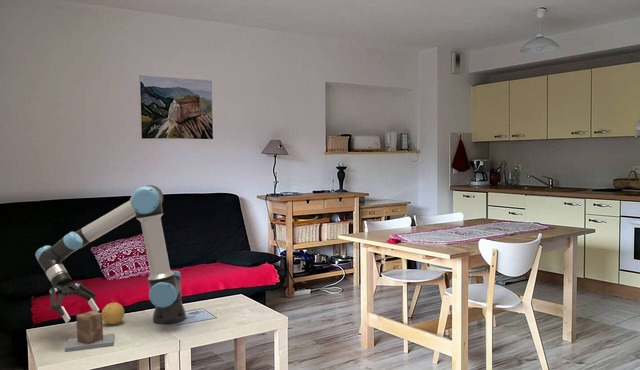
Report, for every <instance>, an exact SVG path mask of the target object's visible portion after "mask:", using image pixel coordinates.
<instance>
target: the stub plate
mask: <svg viewBox="0 0 640 370" xmlns="http://www.w3.org/2000/svg"><path fill="white" fill-rule="evenodd" d="M114 344H115V333H105V334H103V339H102V340H100V341H97V342H94V343H91V344H85V343H81V342H78V340H77V337H73V338H71V337H70V338H68V339H67V341H66V343H65V346H64V352H65V353H67V352H74V351H76V352H77V351H82V350H83V351H84V350H90V349H92V350H93V349H98V348H107V347H114Z"/></svg>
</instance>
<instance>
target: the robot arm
mask: <svg viewBox="0 0 640 370" xmlns="http://www.w3.org/2000/svg"><path fill="white" fill-rule="evenodd" d="M163 202H164V195H163V192H162V190H161V189H160V188H159V187H158V186H156V185H151V184H148V185H143V186H140V187H138V188H137V189H136V190H135V191H134V192H133V193H132V195H131V197H130V199H129V200H128V201H126V202H125V203H122V204H121V205H119V206H117V207H116V208H114V209H113V210H111V211H109V212H108V213H106V214H104V215H103V216H100V217H99V218H97V219H96V220H94V221H92V222H90V223H88V224H86V225H85V226H84V227H82V228H80V229H78V230H77V231H70V232H69V233H67V234H65V235H64V236H63V237H62V238H61V239H59V240H58V241H57V242H56V243H55V244H53V245H52V246H51V245H44V246H42V247H39V248H38V249H37V250H36V252H35V254H34V255H35V258H36V260H37V261H38V264H39V265H40V267H41V268H42V270H43V272H44V273H45V275H46V277H47V278H48V280H49V281H50V283H51V285H52V287H51V288H50V290H49V291H48V293H49V295H50V302H49V305H50V311H54V312H55V313H58V315H59V317H62V318H63V320H64V322H65V324H68V323H69V322H70V320H71V317H70V315H69V314H68V312H67V311H66V309H65V307H64V306H62V304H63V300H64V297H68V296H72V295H73V296H77V297H79V298H82V299H84V300H86V301H87V303H88V305H89V306H90V308H91V311H94V312H100V308H99V307H98V306H97V305H98V303H97V302H96V299H95V298H96V296H97V294H96V293H95V292H94V291H93V290H92V289H89V288H88V287H87V286H85V285H84V284H83V283H82V282H81V280H78V281H77V282H73V279H72V277H71V276H70V274H69V273H68V271H67V269H66V268H65V266H64V264H63V263H62V261H64V260H65V259H67V257H69V256H70V255H72V253H74V252H76V251H78V250H79V249H80V250H81V249H82V248H84V247H86V246H87V245H88V244H90V243H91V242H93V241H95V240H97V239H99V238H100V237H102V236H103V235H105V234H107V233H109V232H110V231H112V230H114V229H116V228H117V227H119V226H120V225H123V224H124V223H126V222H128V221H129V220H132V219H133V218H135V217H136V220H138V221H139V222H140V225H141V229H142V230H141V231H142V236H143V241H144V247H145V251H146V252H145V253H146V258H147V261H148V262H147V263H148V267H149V268H148V269H149V273H150V275H149V276H148V278H147V281H148V287H149V292H148V297H149V301H150V302H151V304H153V306H155V308H154V311H153V314H152V322H153V323H154V324H159V325H160V324H161V325H165V324H166V325H168V324H169V325H170V324H177V323H179V322H180V323H181V322H183V321H184V320H186V318H187V317H186V316H187V313H186V310H185V307H184V305H183V301H182V282H181V281H182V280H181V279H182V275H181V271H179V270H171V267H170V262H169V256H168V251H167V250H168V249H167V244H166V239H165V234H164V229H163V225H162V224H163V223H162V216H163V215H164V210H163V205H162V204H163ZM56 293H58V294H59V295H58V299H57V295H56ZM56 299H57V300H56Z"/></svg>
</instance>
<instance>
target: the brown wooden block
mask: <svg viewBox="0 0 640 370" xmlns="http://www.w3.org/2000/svg"><path fill="white" fill-rule="evenodd" d="M103 328H104V324H103V319H102V312H100V311H98V312H94V311H93V310H89V311H86V312H83V313H81V314H80V313H79V314H77V315H76V335H77V337H76V338H77V340H78V342H81V343H85V344H91V343H94V342H97V341H100V340H102V339H103V335H104V329H103Z"/></svg>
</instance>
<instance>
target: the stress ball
mask: <svg viewBox="0 0 640 370" xmlns="http://www.w3.org/2000/svg"><path fill="white" fill-rule="evenodd" d="M124 308H125V307H123V305H122V304H120V303H118V302H110V303H107V304H106V305H105V306H104V307H103V308H102V310H101V313H102V321H103V322H105V324H108V325H117V324H119V323H121V321H122V320H123V319H124V316H125V309H124Z"/></svg>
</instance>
